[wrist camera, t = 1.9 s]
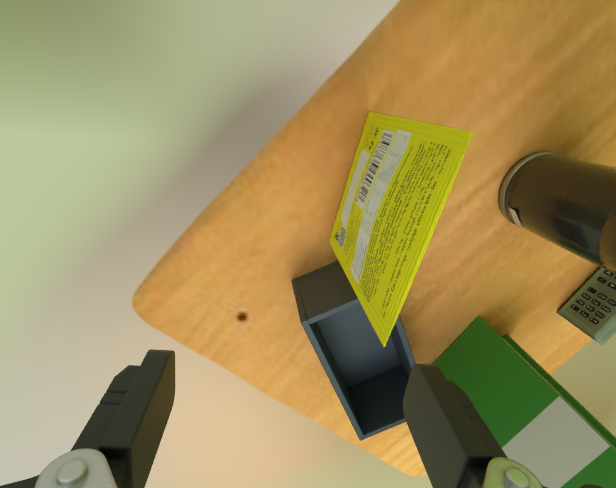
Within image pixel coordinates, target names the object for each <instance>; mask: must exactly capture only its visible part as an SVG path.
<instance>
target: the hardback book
mask: <svg viewBox="0 0 616 488" xmlns="http://www.w3.org/2000/svg"><path fill="white" fill-rule="evenodd" d="M432 365H437V366H438V367H439V368H440V370H441V371H442V373H443V375H444V376H445V378H446V379H447V381H453V382H454V383H455V384H456V385H457V386H459V387H460V388H461V389H462V390H463V391H464V392H465V393H466V394H467V396H468V397H469V399H470V400H471V402H472V403H473V405H474V408H476V410H477V411H478V413H479V414H480V416H481V419H483V420H484V422H485V424H486V425H487V427H488V428H489V430H490V431H491V433H492V434H493V436H494V437H495V439H496V441H497V442H498V444H499V445H500V447H501V448H502V450H503V451H504V453H505V454H506V456H507V457H508V458H509V459H512V460H514V461H516V462H518V463H520V464H522V465H523V466H525V467H526V468H528V469H529V470H530V471H531V472H532V473H533V474H534V475H535V476H536V477H537V478H538V479H539V481H540V482H541V484H542V485H543V486H545V487H548V488H580V487H581V486H582V485H585V484H592V485H597V486H600V487H603V488H616V438H615V436H614V435H612V434H611V433H610V432H609V431H608V430H607V429H606V428H605V427H604V426H603V425H602V424H601V423H600V422H599V421H598V420H597V419H596V418H595V417H594V416H593V415H591V414H590V413H589V412H588V411H587V410H586V409H585V408H584V407H583V406H582V405H581V404H580V403H579V402H578V401H577V400H575V398H573V396H572V395H570V394H569V393H568V392H567V391H566V390H565V389H564V388H563V387H562V386H561V385H560V384H559V383H558V382H557V381H556V380H555V379H554V378H553V377H552V376H551V375H549V374H548V373H547V372H546V371H545V370H544V369H543V368H542V367H541V366H540V365H539V364H538V363H537V362H536V361H535V360H534V359H533V358H532V357H531V356H530V355H528V354H527V353H526V352H525V351H524V350H523V349H522V348H521V347H520V346H519V345H518V344H517V343H516V342H515V341H514V340H513V339H512V338H511V337H509V336H508V335H505V336H504V337H503V338H502V337H501V336H500V335H499V334H498V333H497V332H496V331H495V330H494V329H493V328H492V327H491V326H490V325H489V324H488V323H487V322H486V321H485V320H484V319H483V318H481V317H480V316H478V317H477V318H476V319H475V320H474V321H473V322H472V323H471V324H470V325H469V327H468V328H467V329H466V330H465V331H464V332H463V333H462V334H461V335H460V336H459V337H458V338H457V339H456V340H455V341H454V342H453V343H452V344H451V345H450V346H449V347H448V349H447V350H446V351H445V352H444V353H443V354H442V355H441V356H440V357H439V358H438V359H437V360H436V361H435V362H434V363H433V364H432Z"/></svg>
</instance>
